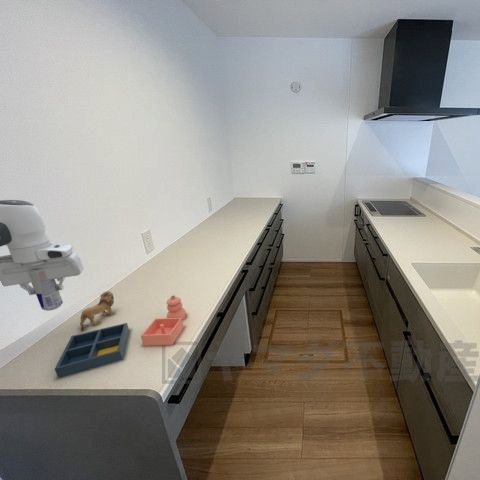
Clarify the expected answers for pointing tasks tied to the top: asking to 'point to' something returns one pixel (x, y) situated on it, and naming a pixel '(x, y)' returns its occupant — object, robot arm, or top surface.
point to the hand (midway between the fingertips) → (47, 291)
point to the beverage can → (45, 290)
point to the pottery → (166, 325)
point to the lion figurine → (98, 308)
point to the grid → (93, 350)
